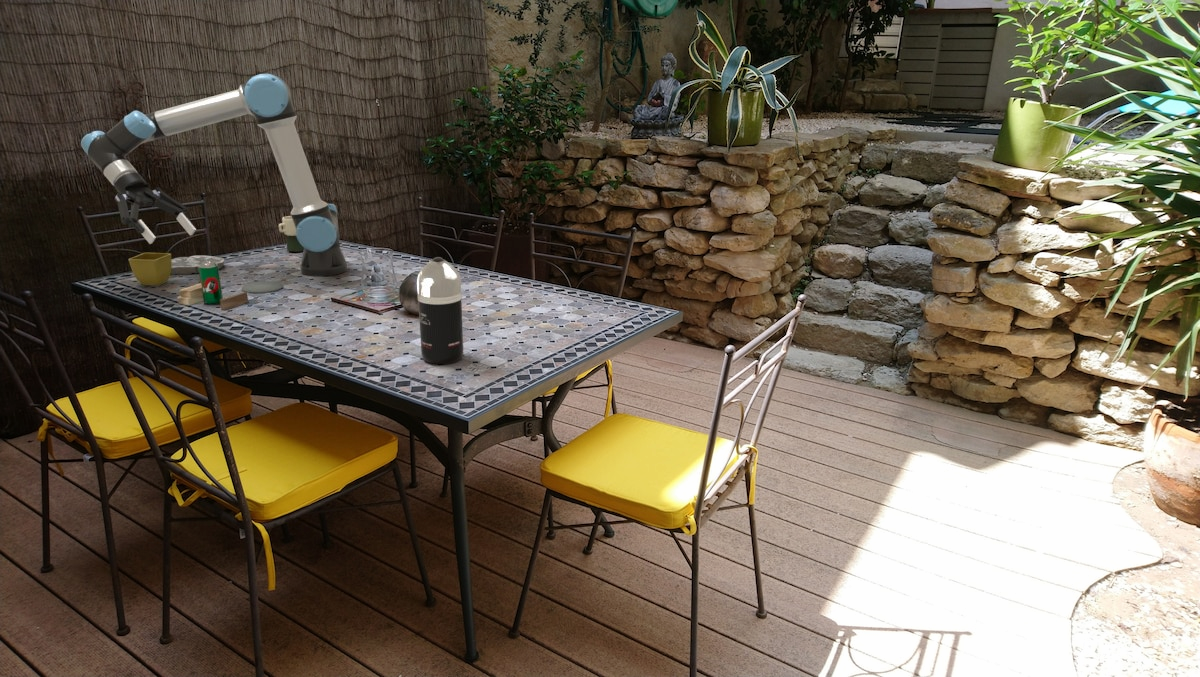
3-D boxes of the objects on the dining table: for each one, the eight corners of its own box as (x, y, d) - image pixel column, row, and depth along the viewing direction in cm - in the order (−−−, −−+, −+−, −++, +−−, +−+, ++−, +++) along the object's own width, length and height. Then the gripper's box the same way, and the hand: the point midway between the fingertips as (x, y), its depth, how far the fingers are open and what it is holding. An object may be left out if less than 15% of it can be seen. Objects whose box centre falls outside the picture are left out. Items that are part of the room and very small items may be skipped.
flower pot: (160, 288, 228) (155, 259, 225) (132, 287, 228) (127, 258, 225) (176, 280, 236) (171, 253, 233) (149, 279, 237) (144, 252, 234)
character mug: (305, 247, 285) (301, 214, 281) (314, 251, 280) (310, 217, 276) (277, 251, 278) (273, 217, 273) (286, 255, 273) (282, 220, 269)
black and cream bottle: (438, 369, 171) (432, 264, 163) (412, 358, 177) (406, 256, 169) (473, 358, 178) (469, 257, 170) (447, 347, 184) (442, 250, 176)
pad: (287, 282, 237) (287, 280, 237) (278, 292, 226) (278, 291, 226) (247, 283, 235) (247, 281, 235) (237, 293, 224) (236, 291, 224)
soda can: (227, 301, 217) (221, 261, 213) (213, 305, 212) (207, 265, 208) (213, 299, 218) (207, 259, 214) (200, 303, 214) (193, 263, 210)
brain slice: (219, 261, 263) (218, 253, 262) (228, 271, 250) (227, 263, 249) (156, 268, 252) (155, 259, 251) (163, 279, 239) (161, 270, 238)
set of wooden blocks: (177, 303, 213) (175, 290, 212) (205, 294, 222) (203, 282, 221) (222, 310, 208) (220, 297, 207) (249, 301, 217) (247, 288, 216)
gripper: (158, 183, 225) (203, 237, 225) (79, 193, 202) (129, 252, 203) (169, 167, 221) (214, 221, 222) (89, 175, 199) (140, 235, 199)
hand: (173, 236), depth 212 cm, fingers open, 13 cm apart
